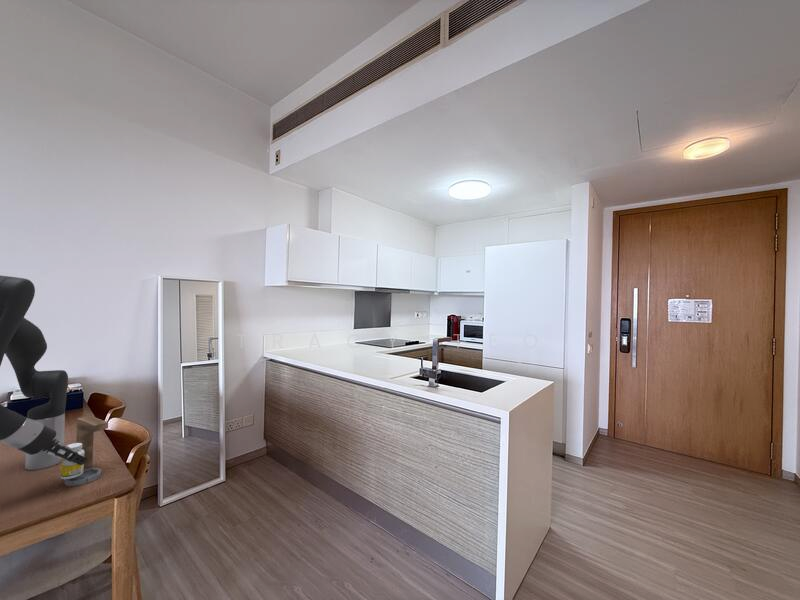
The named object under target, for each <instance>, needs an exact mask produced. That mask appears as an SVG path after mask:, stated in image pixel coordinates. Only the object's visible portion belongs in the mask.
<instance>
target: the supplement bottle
mask: <svg viewBox="0 0 800 600" xmlns="http://www.w3.org/2000/svg"><path fill="white" fill-rule="evenodd" d="M66 446H68V447H70V448H71V450H72V451H74V452H77V453H78V454H79V455H81V456H83V457H84V455H85V451H84V450H83V449H82V443H76V442H75V443H71V444H66ZM72 454H73V453H71V454H70V455H69V456H68V457H67V458H69V457H70V456H71V455H72ZM83 471H84V464H83V465H79V464H77V463H75V462H69V461H68V460H66V459H64V458H62V459H61V462H60V478H61V479H62V480H65V479H71V478H74V477H77V476H79V475H81V474H82V473H83Z"/></svg>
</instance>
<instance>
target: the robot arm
mask: <svg viewBox="0 0 800 600" xmlns="http://www.w3.org/2000/svg"><path fill="white" fill-rule="evenodd" d="M35 294H36V288H35V285H34V283H33V282H32V281H31V280H30V279H28V278H23V277H18V276H17V277H16V276H8V275H0V367H1V365H2V363H3V359H4V357H5V356H6V357H7V359H8V360H9V363H10V365H11V367H12V369H13V371H14V374H15V378H16V380H17V382H18V386H19V389H20V392H21V393H22V395H23V396H24V397H26V398H30V399H36V398H49V397H50V399H49V401H48V402H46V403H43V404H41V405H38V406H34V407H32V408H30V409H29V410H28V411H27V414H26V416H25V415H22V414H20V413H18V412H16V411H15V410H11V409H9V408H7V407H6V406H5V405H3V404H1V403H0V442H1V443H3V444H5V445H6V446H9V447H11V448H14V449H16V450H18V451H21V452H23V453H25V460H24V462H25V464H24V465H25V466H24V469H25V470H27V471H34V470H35V471H36V470H42V469H46V468H50V467H53V466H55V465H57V464H61V459H62V458H64V459H66V460H68V461H69V462H75V463H77V464H79V465H83V464H84V463H85V462H86V461H87V458H85V457H83V456H81V455H79V454H78V453H77V452H74V451H72V450H71V448H70V447H68V446H67V444H65V421H66V419H65V417H66V414H65V413H66V405H67V394H68V393H67V392H68V385H69V375H68V373H67V371H66V370H64V369H63V370H62V369H61V370H60V369H57V370H56V369H55V370H37V369H36V368H35V365H36V364H37V363H39V361H40V360H41V359H42V358H43V356H44V355H45V353H46V352H47V349H48V345H47V344H48V343H47V341H46V339H45V335H44V334H43V332H42V329H40V328H39V326H37V325H36V324H34V323H33V322H31V321H30V320H28V319H27V318H25V316H26V315H27V312H28V311H29V308H30V307H31V305H32V304H33V301H34V298H35ZM71 453H73V454H72V455H71V456H70V457H69V458H67V457H68V456H69V455H70V454H71Z"/></svg>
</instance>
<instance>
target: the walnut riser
mask: <svg viewBox="0 0 800 600" xmlns="http://www.w3.org/2000/svg"><path fill="white" fill-rule="evenodd" d="M106 429H109V422H108V421H106V420H103V419H100V418H98V417H95V416H92V415H87V416H82V417H78V418H77V419H76V439H75V443H82V449H83V450H84V451H85V455H84V457H85V458H87V461H86V462H85V463H84V470H85V469H90V468H93V466H94V465H93V462H94V461H93V460H94V458H93V457H94V454H93V453H94V437H95V436H94V433H95V432H99V431H103V430H106Z"/></svg>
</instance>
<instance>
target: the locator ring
mask: <svg viewBox="0 0 800 600" xmlns="http://www.w3.org/2000/svg"><path fill="white" fill-rule="evenodd" d="M101 473H102V469H101V468H97V467H92V468H90V469H85V470H84V471H83V473H82V474H81V475H79V476H77V477H74V478H71V479H64V485H65V486H68V487H76V486H75V485H78V486H82V485H81V484H83V485H85V483H86V484H88V483H87V482H89V483H91V481H92V482H93V480H94V481H95V479H96V480H97V479H99V478H100V476H101Z"/></svg>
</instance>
